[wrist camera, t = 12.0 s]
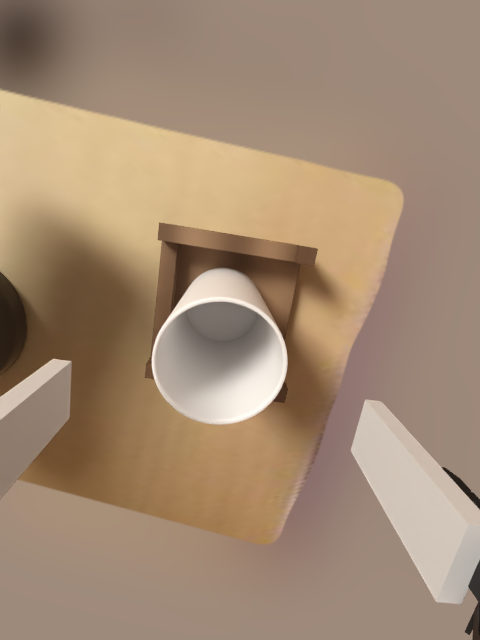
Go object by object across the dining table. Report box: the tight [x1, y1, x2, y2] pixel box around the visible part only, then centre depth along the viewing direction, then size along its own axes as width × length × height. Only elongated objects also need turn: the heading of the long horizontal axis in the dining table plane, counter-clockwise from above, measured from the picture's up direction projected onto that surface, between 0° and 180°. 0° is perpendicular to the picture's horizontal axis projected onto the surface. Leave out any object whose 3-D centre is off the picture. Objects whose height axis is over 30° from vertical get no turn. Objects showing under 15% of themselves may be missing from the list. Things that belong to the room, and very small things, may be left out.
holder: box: [145, 223, 318, 403], centre depth 33 cm, size 14×15×7 cm
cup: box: [152, 268, 288, 425], centre depth 27 cm, size 8×8×16 cm
